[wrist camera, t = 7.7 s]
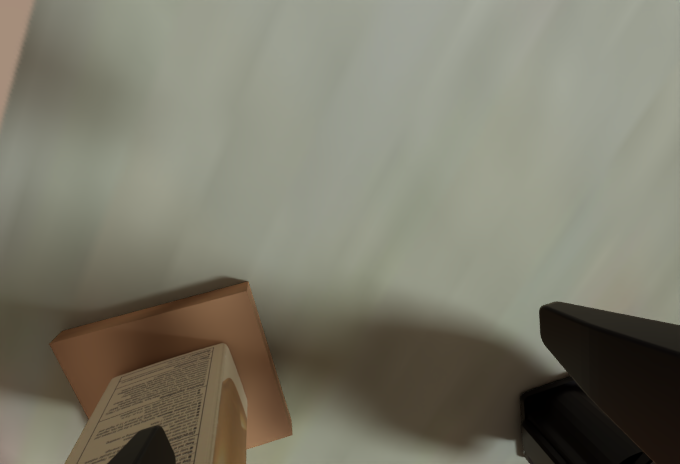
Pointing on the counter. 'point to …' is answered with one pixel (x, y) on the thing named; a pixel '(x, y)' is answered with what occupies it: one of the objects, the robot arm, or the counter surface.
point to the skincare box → (173, 410)
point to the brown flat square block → (180, 352)
